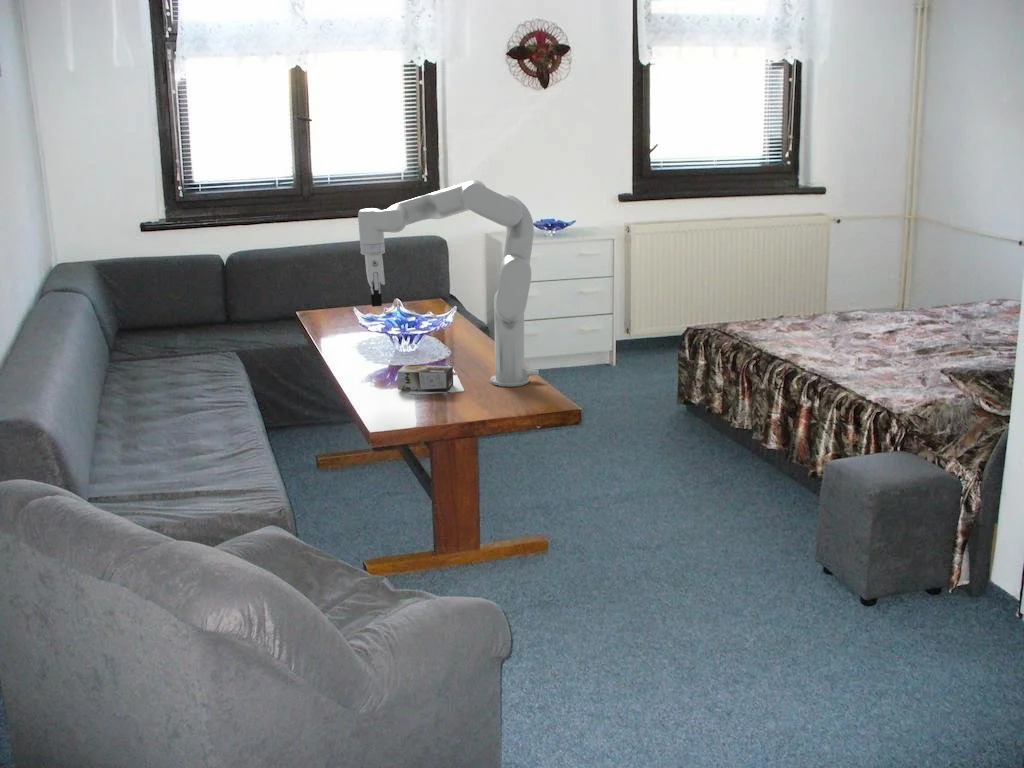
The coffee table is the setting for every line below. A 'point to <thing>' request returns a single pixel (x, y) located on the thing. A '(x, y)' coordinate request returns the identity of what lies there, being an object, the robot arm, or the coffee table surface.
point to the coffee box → (425, 378)
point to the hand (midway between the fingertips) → (376, 305)
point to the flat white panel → (455, 388)
